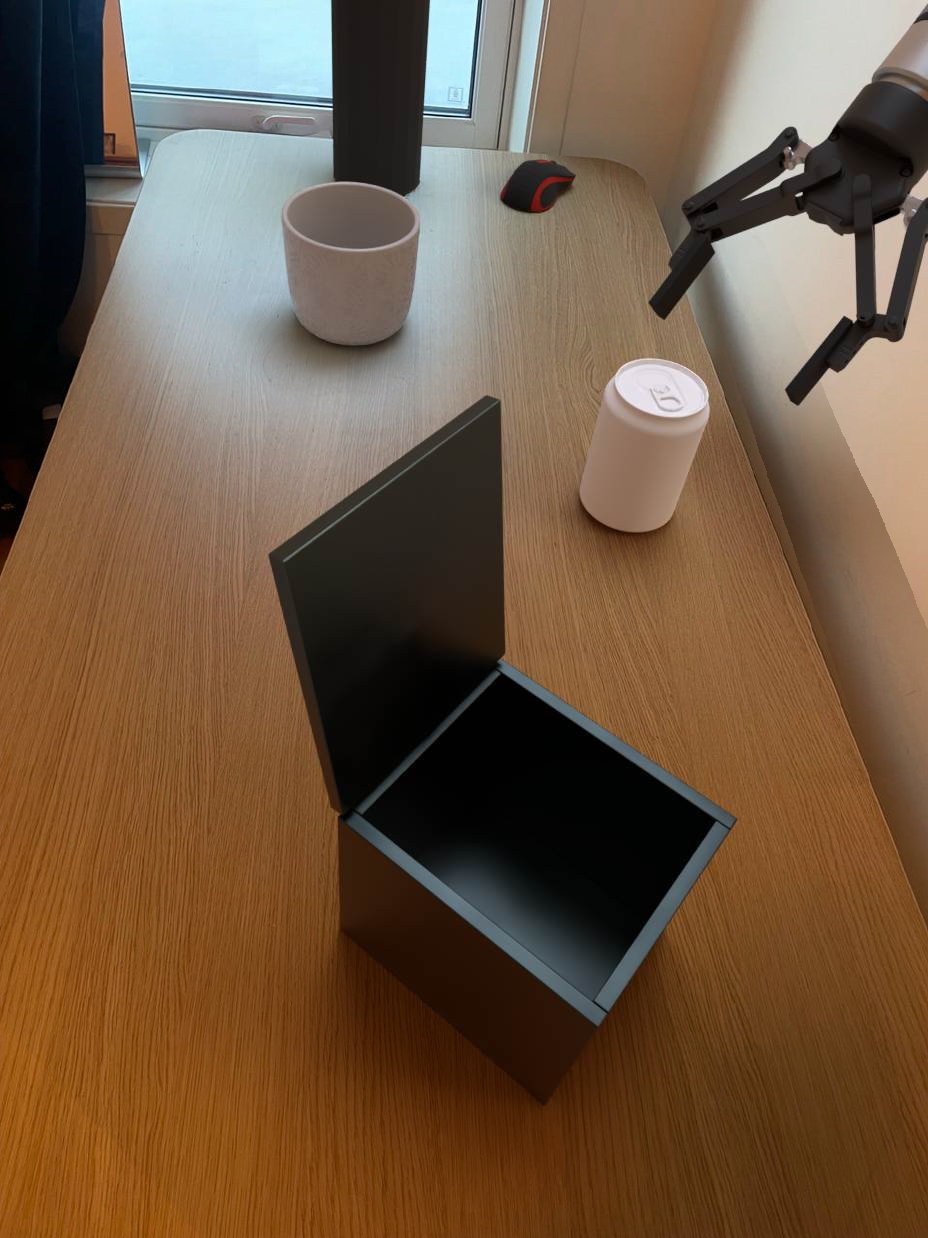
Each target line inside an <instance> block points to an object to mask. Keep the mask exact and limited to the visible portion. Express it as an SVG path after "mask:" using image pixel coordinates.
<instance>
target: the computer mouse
mask: <svg viewBox="0 0 928 1238" xmlns="http://www.w3.org/2000/svg"><path fill="white" fill-rule="evenodd" d="M576 177H577V174H576V173H573V172H572V171H570V169H568V168H567V167H566V166H565V165H562V164H558V163H557V162H556V161H555V160H548V159H529V160H525V161H522V163H520V165H518V166H517V167H516V168H515V170H514V171H513V173H512V174H511V176H510V177H509V179H508V180H507V181H506V183H505V185H504V187H503V188H502V190H501V192H500V198H501V200H502V201H503V202H504V203H505V204H506V205H507V206H509V207H512V208H514V209H516V210H519V211H523V212H529V213H541V212H545V211H548V210H549V209H550V208H551V207H553V205H555V203H556V201H557V199H558V197H559V196H560V195H562V194H563V193H565V192H566V191H567V190H568V189H569V188H570V187H571V186H572V184H573V183H574V180H575V178H576Z"/></svg>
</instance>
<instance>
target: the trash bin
mask: <svg viewBox="0 0 928 1238" xmlns="http://www.w3.org/2000/svg"><path fill="white" fill-rule="evenodd" d="M737 821H738V817H736V816H734V815H733V814H731V813H730V812H728V811H727V810H725V809H724V808H722V807H721V806H719V805H718V804H717V803H715V802H714V801H712V800H711V799H710V798H708V797H707V796H705V795H703V794H702V793H701V792H699V791H698V790H696V789H695V788H694V787H692V786H690V785H688V784H687V783H686V782H684V781H683V780H681V779H680V778H678V777H677V776H676V775H674V774H673V773H671V772H669V771H668V770H667V769H665V768H664V767H662V766H660V765H659V764H657V762H655V761H653V760H652V759H650V758H649V757H648V756H647V755H645V754H643V753H642V752H640V751H638V750H637V749H636V748H634V747H633V746H631V745H630V744H628V743H627V742H625V741H624V740H623V739H621V738H620V737H618V736H616V735H615V734H614V733H612V732H611V731H610V730H608V729H606V727H605V728H604V726H602V725H600V724H599V723H597V722H596V721H594V719H591V718H590V717H588V716H587V715H586V714H584V713H582V712H581V711H580V710H578V709H577V708H575V707H574V706H572V705H571V704H569V703H568V702H566V701H565V700H564V699H562V698H561V697H559V696H558V695H556V694H554V693H553V692H552V691H550V690H549V689H547V688H546V687H544V686H543V685H542V684H540V683H539V682H537V681H535V680H534V679H532V678H531V677H529V676H528V675H526V674H525V673H523V672H522V671H521V670H520V669H518V668H516V667H515V666H513V665H512V664H511V663H509V662H507V661H506V660H504V659H503V658H501V659H500V660H499V661H498V662H497V663H496V664H495V665H494V666H493V667H492V668H491V669H490V670H489V671H488V672H487V673H486V674H485V675H484V676H483V677H482V678H481V679H480V680H479V681H478V682H477V683H476V684H475V685H474V686H473V687H472V688H471V689H470V690H469V691H468V692H467V693H466V694H465V695H464V696H463V697H462V698H461V699H460V700H459V701H458V702H457V703H456V704H455V705H454V706H453V707H452V708H451V709H450V710H449V711H448V712H447V713H446V714H445V715H444V716H443V717H442V718H441V719H440V720H439V721H438V722H437V723H436V724H435V725H434V726H433V727H432V728H431V729H430V730H429V731H428V732H427V733H426V734H425V735H424V736H423V737H422V738H420V739H419V740H418V741H417V742H416V743H415V744H414V745H413V746H412V747H411V748H410V749H409V750H408V751H407V752H406V753H405V754H404V755H403V756H402V757H401V758H400V759H399V760H398V761H397V762H396V763H395V764H394V765H393V766H392V767H391V768H390V769H389V770H388V771H387V772H386V773H385V774H384V775H383V776H382V777H381V778H380V779H379V780H378V781H377V782H376V783H375V784H374V785H373V786H372V787H371V788H370V789H369V790H368V791H367V792H366V793H365V794H364V795H363V796H362V797H361V798H360V799H359V800H358V801H357V802H356V803H355V804H354V805H353V806H352V807H351V808H350V809H349V810H348V811H347V812H346V813H345V814H344V815H341V814H339V815H338V816H337V854H338V855H337V860H338V863H337V864H338V906H339V909H338V911H339V930H340V931H341V932H342V933H343V934H344V935H346V936H347V937H348V938H349V939H350V940H352V942H354V943H355V944H356V945H357V946H358V947H360V948H361V949H362V950H363V951H364V952H365V953H367V954H368V955H369V956H370V957H371V958H372V959H373V960H375V961H376V962H377V963H378V964H379V965H381V966H382V967H383V968H384V969H385V970H386V971H387V972H388V973H390V974H391V975H392V976H393V977H395V979H396V980H398V981H399V982H400V983H401V984H403V985H404V986H405V987H406V988H407V989H408V990H409V991H411V992H412V993H413V994H415V996H416V997H418V998H419V999H420V1000H421V1001H422V1003H423V1002H424V1004H425V1005H427V1006H428V1007H429V1008H430V1009H431V1010H433V1011H434V1012H435V1013H436V1014H437V1015H438V1016H440V1017H441V1018H442V1019H443V1020H444V1021H445V1022H447V1023H448V1024H449V1025H450V1026H451V1027H452V1028H454V1030H455V1031H457V1032H458V1033H459V1034H461V1036H463V1037H464V1038H465V1039H466V1040H467V1041H469V1042H470V1043H471V1044H472V1045H473V1046H474V1047H476V1048H477V1049H478V1051H480V1052H481V1053H483V1054H484V1055H485V1056H486V1057H487V1058H488V1059H489V1060H491V1061H492V1062H493V1063H494V1064H495V1066H497V1067H499V1068H500V1069H501V1070H502V1071H504V1072H505V1074H507V1075H508V1076H509V1077H510V1078H511V1079H512V1080H514V1081H515V1082H516V1083H517V1084H518V1085H519V1086H521V1087H522V1088H523V1089H525V1091H526V1092H528V1094H530V1095H531V1096H532V1097H533V1098H534V1099H536V1100H537V1101H538V1102H539V1103H541V1105H543V1106H544V1107H545V1106H546V1105H547V1104H548V1102H549V1101H550V1099H551V1098H552V1096H553V1095H554V1094H555V1092H556V1090H557V1089H558V1088H559V1086H560V1085H561V1084H562V1082H563V1080H564V1079H565V1078H566V1077H567V1075H568V1073H569V1072H570V1070H571V1069H572V1068H573V1066H574V1065H575V1063H576V1062H577V1060H578V1059H579V1057H580V1056H581V1055H582V1053H583V1052H584V1051H585V1049H586V1048H587V1046H588V1045H589V1043H590V1042H591V1040H592V1039H593V1037H594V1036H595V1035H596V1033H597V1031H598V1030H599V1029H600V1027H601V1026H602V1024H603V1023H604V1022H605V1020H606V1019H607V1016H608V1015H609V1014H610V1012H612V1009H613V1007H615V1005H616V1003H617V1002H618V1000H619V999H620V997H621V996H622V995H623V993H624V991H625V989H626V988H627V987H628V985H629V984H630V982H631V981H632V979H633V978H634V976H635V975H636V973H637V972H638V970H639V969H640V968H641V965H642V964H643V963H644V961H645V959H647V957H648V955H649V954H650V952H651V951H652V949H653V948H654V946H655V945H656V943H657V942H658V940H659V939H660V937H661V936H662V935H663V933H664V931H665V930H666V928H667V927H668V925H669V923H670V922H671V921H672V919H673V918H674V917H675V914H676V913H677V911H678V910H679V909H680V907H681V906H682V904H683V903H684V901H685V900H686V898H687V896H688V895H689V894H690V892H691V891H692V889H693V887H694V886H695V885H696V883H697V881H698V880H699V879H700V877H701V875H702V874H703V873H704V871H705V870H706V868H707V866H708V865H709V864H710V862H711V861H712V859H713V858H714V856H715V855H716V853H717V852H718V851H719V848H720V847H721V845H722V844H723V843H724V841H725V840H726V839H727V837H728V835H729V834H730V832H731V831H732V829H733V828H734V827H735V825H736V823H737Z"/></svg>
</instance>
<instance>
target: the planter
mask: <svg viewBox="0 0 928 1238" xmlns="http://www.w3.org/2000/svg"><path fill="white" fill-rule="evenodd" d="M280 217H281V218H280V219H281V227H282V228H281V229H282V238H283V249H284V259H285V260H284V261H285V269H286V278H287V286H288V291H289V296H290V302H291V305H292V309H293V311H294V314H295V316H296V318H297V319H298V321H299V323H300V324H301V325H302V326H303V327H304V328H305V329H306V330H307V331H308V332H310V333H311V334H313V335H314V336H316V337H318V338H319V339H321V340H324V341H326V342H329V343H333V344H338V345H341V346H342V345H343V346H366V345H367V346H368V345H372V344H376V343H378V342H382V341H384V340H386V339H388V338H390V337H391V336H393V335H395V334H396V333H397V332H398V331H399V330H400V329H401V328H402V327H403V325H404V324H405V322H406V320H407V318H408V316H409V313H410V310H411V305H412V301H413V296H414V290H415V289H414V288H415V282H416V272H417V262H418V251H419V243H420V231H421V216H420V213H419V211H418V210H417V208H416V207H415V205H414V204H413V203H412V202H411V201H410V200H408V199H407V198H406V197H404V195H402V196H401V195H399V194H397V193H395V192H393V191H391V190H388V189H386V188H383V187H379V186H376V185H371V184H366V183H359V182H337V181H331V182H322V183H318V184H314V185H310V186H308V187H305V188H302V189H300V190H299V191H297V192H295V193H294V194H292V195H291V196H290V197H288V198H287V200H285V202H284V204H283V206H282V208H281V215H280Z"/></svg>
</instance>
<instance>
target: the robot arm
mask: <svg viewBox="0 0 928 1238" xmlns="http://www.w3.org/2000/svg"><path fill="white" fill-rule="evenodd" d="M801 164H803V172H801V173H799V174H796V175H793V176H791V177H789V178H786V179H784V180H782V181H781V182H780V184H778V186H775V187H771V188H770V189H768V190H765V191H762V192H759V193H756V192H757V191H759V189H761V188H763V187H765V186H767V185H768V184H769V183H771V182H773V181H774V180H776V179H777V178H779V177H780V176H781V175H782V174H783V173H785V171H786V170H787V171H793V170H794V169H796V166H798V165H801ZM927 172H928V3H927V4H926V5H925V6H924V8H923V9H922V11H921V12H920V13H919V15H918V16H917V17H916V19H915V20H914V21H913V22H912V24H911V25H910V26H909V28H908V30H906V32H905V33H904V34H903V36H902V37H901V38H900V40H898V42H897V43H896V45H895V46H894V47H893V48H892V49H891V50H890V52H889V53H888V55H886V57H885V58H884V60H883V61H882V62H881V64H880V65H879V66H878V67H877V68H876V69H875V71H874V72H873V74H872V76H871V82H870V83H868V84H866V85H864V86H863V87H862V88H861V90H860V92H858V94H857V95H856V97H855V98H854V99H853V101H852V102H851V103H850V104H849V106H848V107H847V109H845V111H844V112H843V114H842V115H841V116H840V118H838V120H837V121H836V123H835V125H834V126H833V128H832V130H831V131H830V132H829V135H828V136H827V137H826V138H825V139H824V140H823V141H822V142H821V143H819V144H817V145H815V146H813V145H811V144H810V143H808V142H807V141H805V140H804V139H802V138H800V136H799V133H798V129H797V128H796V127H795V126H792V125H791V126H787V127H785V128H784V129H783V130H782V131H780V133H779V134H778V135H777V137H776V138H774V140H773V141H772V142H771V143H770V144H769V146H768V147H766V148H765V149H764V150H762V151H760V152H759V153H757V154H756V155H755V156H753V157H750V159H748V160H746V161H744V162H743V163H742V164H740V165H739V166H737V167H735V168H734V169H732V170H731V171H729V172H728V173H726V174H724V175H723V176H722V177H720V178H718V179H717V180H715V181H714V182H712V183H711V184H709V185H708V186H706V187H705V188H703V189H701V190H700V191H698V192H697V193H695V194H693V195H692V196H691V197H689V198H687V199H686V200H684V201H683V202H682V205H681V211H682V213H683V215H684V217H685V220H686V221H687V223H688V224H689V226H690V230H689V232H688V234H687V235H686V236H685V237H684V239H683V240H682V242H681V243H680V245H679V246H678V247H677V249H676V250H675V252H673V254H672V255H671V257H669V261H668V264H667V265H668V267H669V269H670V270H671V271H670V272H669V274H668V276H667V277H666V278H665V280H664V281H663V282H662V284H660V286H659V287H658V289H657V290H656V291H655V293H654V294H653V296H651V298H650V299H649V301H648V305H649V307H651V309H652V310H653V312H654V313H655V314H656V316H657V317H658V318H660V319H662V320H663V321H665V320H666V319H667V317H668V316H669V315H670V314H671V313H672V312H673V309H674V308H675V307H676V306H677V305H678V303H679V302H680V301H681V299H682V298H683V296H684V295H685V294H686V293H687V291H688V290H689V289H690V287H691V286H692V284H693V283H694V282H695V281H696V279H697V278H698V277H699V275H700V274H701V273H702V271H703V270H704V269H705V267H706V266H707V265H708V263H709V262H710V261H711V259H712V258H713V257H714V255H715V254H716V251H715V248H714V247H713V245H712V244H713V243H716V242H719V241H722V240H724V239H727V238H730V237H732V236H735V235H738V234H740V233H743V232H747V231H749V230H751V229H754V228H756V227H760V226H763V225H766V224H768V223H770V222H773V221H775V220H778V219H781V218H784V217H796V216H799V215H801V214H804V213H806V214H807V216H808V220H810V221H813V222H814V223H816V224H820V225H825V226H827V227H828V228H830V229H831V231H832V232H833V233H835V234H837V235H839V236H840V237H843V236H844V235H853V236H854V256H855V258H854V259H855V260H854V261H855V300H856V304H855V305H856V306H855V307H856V314H855V317H856V320H855V321H853V319H851V318H849V317H848V316H846V315H843V316H842V317H841V319H840V320H839V321H838V322H837V323H836V325H835V326H834V328H833V329H831V331H830V332H829V334H828V335H827V336H826V337H825V338H824V340H823V341H822V342H821V343H820V344H819V346H818V347H817V348H816V350H815V351H814V353H813V354H812V355H811V356H810V357H809V359H808V360H807V361H806V362H805V363H804V364H803V366H802V367H801V369H799V371H798V372H797V374H796V375H795V376H794V377H793V378H792V380H791V381H790V382H789V384H788V385H787V386H786V387H785V389H784V391H785V393H786V396H787V397H788V399H789V402H791V403H793V404H794V405H795V406H797V407H799V406H800V405H801V404H802V402H803V401H804V400H805V399H806V397H807V396H808V395H809V394H810V393H811V391H813V389H814V387H815V386H816V385H817V384H818V383H819V381H820V380H821V379H822V378H823V376H824V375H825V374H826V373H827V371H828V370H829V369H830V370H832V371H833V372H835V373H837V374H838V373H840V372H842V371H844V370H845V369H846V368H847V366H849V364H850V362H851V361H852V360H853V359H854V358H855V357H856V355H858V353H859V352H860V351H861V349H862V348H863V347H864V346H865V344H866V343H867V342H868V341H870V340H871V339H875V338H879V339H884V340H887V341H888V342H890V343H898V342H900V341H901V340H903V338H904V335H905V332H906V328H907V323H908V320H909V315H910V311H911V307H912V302H913V298H914V295H915V291H916V286H917V283H918V278H919V274H920V270H921V265H922V261H923V258H924V253H925V249H926V245H927V243H928V196H927V197H925V199H922V198H920V197H917V196H914V195H911V192H912V190H913V189H914V187H915V186H916V185H917V184H919V183H920V181H921V180H922V178H923V177H924V176H925V175H926V173H927ZM753 193H756V194H754V195H752V194H753ZM798 194H801V195H798ZM750 195H751V196H750ZM797 195H798V196H797ZM900 214H902V215H903V220H902V221H903V228H904V230H905V234H904V236H903V242H902V246H901V250H900V254H899V257H898V263H897V267H896V271H895V275H894V279H893V283H892V287H891V291H890V296H889V300H888V304H887V308H886V313H878V310H877V309H878V306H877V305H878V304H877V303H878V302H877V272H876V271H877V269H876V265H877V264H876V225H878V224H881V223H883V222H885V221H888V220H891V219H892V218H894V217H897V216H899V215H900Z"/></svg>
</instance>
